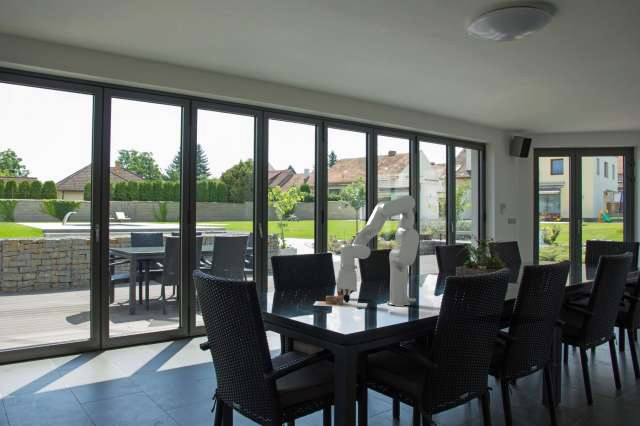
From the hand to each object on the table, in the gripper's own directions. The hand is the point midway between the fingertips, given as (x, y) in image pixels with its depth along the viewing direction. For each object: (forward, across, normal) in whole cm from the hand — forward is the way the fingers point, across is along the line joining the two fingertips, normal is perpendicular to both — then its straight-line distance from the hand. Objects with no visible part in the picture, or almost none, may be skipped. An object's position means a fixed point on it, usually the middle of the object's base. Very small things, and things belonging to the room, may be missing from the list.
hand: (346, 302), depth 259 cm
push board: (+2, +3, 0) cm, 4 cm away
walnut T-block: (+1, +6, 0) cm, 6 cm away
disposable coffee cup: (+2, +3, -20) cm, 20 cm away
